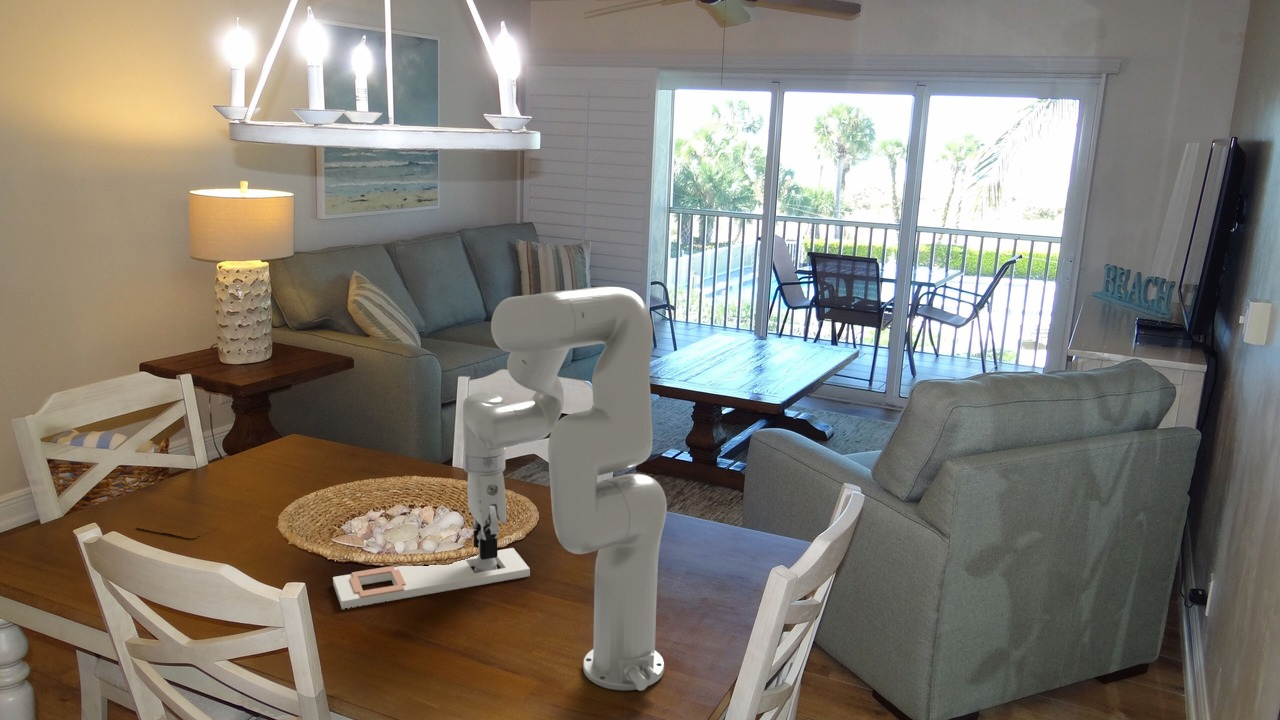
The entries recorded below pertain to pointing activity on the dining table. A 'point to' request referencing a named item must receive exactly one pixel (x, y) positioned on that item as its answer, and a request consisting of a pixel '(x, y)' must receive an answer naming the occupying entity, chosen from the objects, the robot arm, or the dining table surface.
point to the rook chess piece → (484, 561)
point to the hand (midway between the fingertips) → (485, 552)
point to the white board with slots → (424, 579)
